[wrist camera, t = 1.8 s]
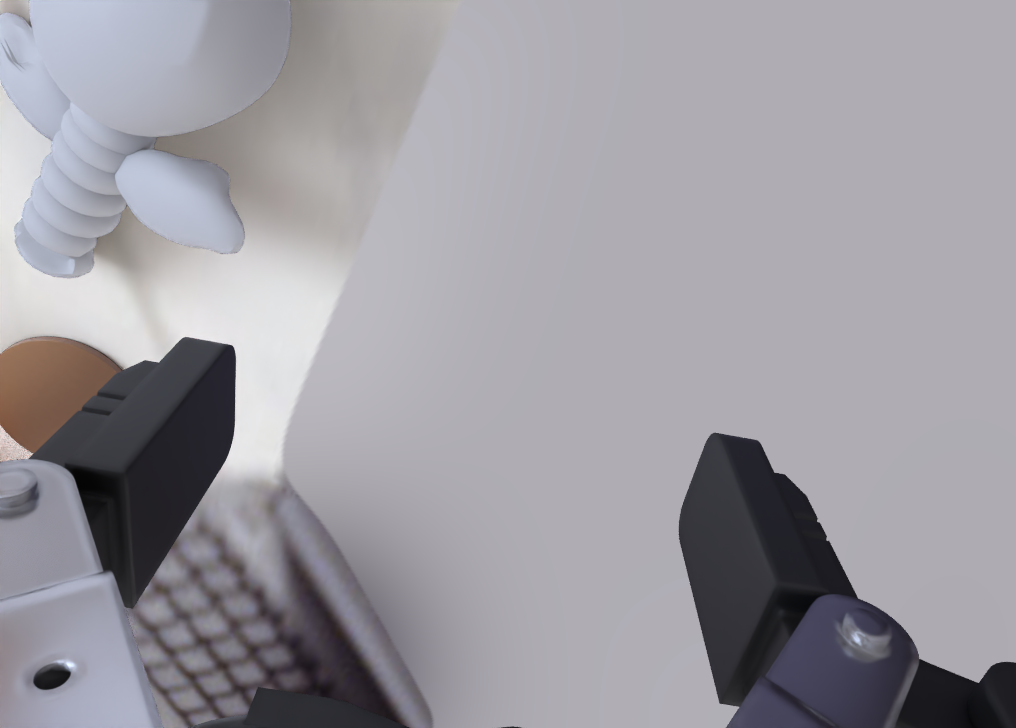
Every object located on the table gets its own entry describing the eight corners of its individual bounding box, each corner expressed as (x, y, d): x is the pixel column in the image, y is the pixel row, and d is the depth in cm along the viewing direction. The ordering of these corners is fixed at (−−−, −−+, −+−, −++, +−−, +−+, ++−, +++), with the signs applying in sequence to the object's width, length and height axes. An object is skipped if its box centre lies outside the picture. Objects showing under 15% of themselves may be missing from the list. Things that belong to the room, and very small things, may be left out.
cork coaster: (-30, 414, 36) (-35, 419, 36) (22, 307, 34) (16, 311, 33) (108, 485, 38) (104, 490, 38) (167, 389, 36) (163, 393, 35)
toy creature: (-163, 162, 28) (-4, -465, 18) (23, 144, 34) (215, -324, 24) (76, 412, 28) (368, -75, 18) (216, 347, 34) (489, -38, 24)
